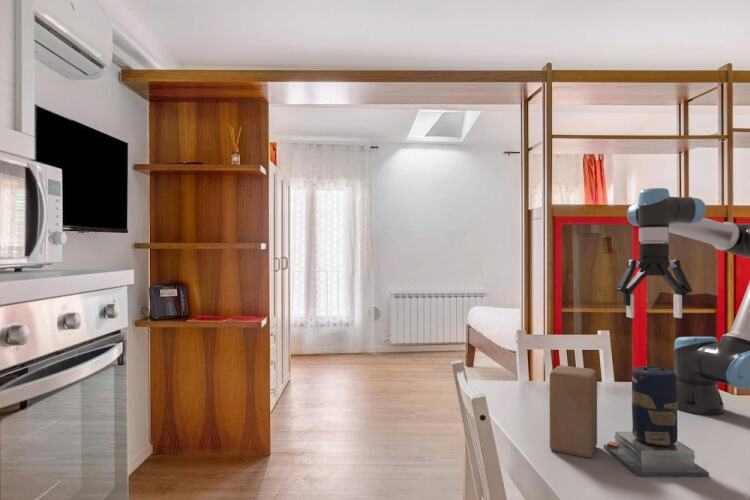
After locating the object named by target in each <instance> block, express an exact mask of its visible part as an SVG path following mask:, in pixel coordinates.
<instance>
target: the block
mask: <svg viewBox="0 0 750 500" xmlns="http://www.w3.org/2000/svg"><path fill="white" fill-rule="evenodd" d="M597 445H598V373H597V370H595V369H594V368H587V367H579V366H578V367H577V366H570V365H568V366H567V365H558V366H556V367H555V368H553V369H552V370H551V371H550V373H549V448H550V450H551V451H554V452H558V453H563V454H567V455H568V454H569V455H572V456H576V457H577V456H578V457H583V458H587V459H588V458H592V456H593V454H594V451H595V450H596V447H597Z"/></svg>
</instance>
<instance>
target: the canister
mask: <svg viewBox="0 0 750 500" xmlns="http://www.w3.org/2000/svg"><path fill="white" fill-rule="evenodd" d="M677 408H678V402H677V376H676V374H675V372H674V371H673V370H670V369H668V368H666V367H664V366H661V365H657V364H656V365H655V364H654V365H653V364H652V365H648V366H647V365H645V366H644V365H643V366H636V367H634V368H633V369H632V370H631V411H632V412H631V413H632V415H631V419H632V420H631V422H632V423H631V424H632V426H631V427H632V429H631V432H633V435H634V436H635V437H636V438H637V439H639V440H641V441H644V442H647V443H650V444H655V445H671V444H674V443H675V442H676V441H678V409H677Z"/></svg>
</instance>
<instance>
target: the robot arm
mask: <svg viewBox="0 0 750 500" xmlns="http://www.w3.org/2000/svg"><path fill="white" fill-rule="evenodd" d="M706 206H707V205H706V203H705V202H704V201H703V200H702V199H700V198H698V197H692V196H686V197H685V196H671V195H670V191H669V189H668V188H665V187H655V188H654V187H653V188H645V189H642V190H641V191H639V195H638V203H637V202H636V203H633V204H632V205H630V206H629V208H628V209H627V213H626V217H627V220H628V223H630V224H631V226H635V227H638V242H640V243H639V245H638V257H639V260H636V259H628V260H627V266H626V269H625V270H624V273H623V275H622V276H621V279H620V281H619V283H618V285H617V287H616V292H617V293H618V292H619V293H621V294H622V295H623V306H626V309H625V310H626V313H625V314H626V318H630V319H634V318H635V295H634V294H632V293H633V292H634V291H635V289H636V288H637V287H638V286H639V284H641V283H642V281H643V280H644V279H645V278H646V277H647V276H657V277H658V276H660V277H662V278H663V280H664V281H666V282H667V284H668V285H669V286H670V287H671V289H673V291H674V294H673V299H672V300H673V301H672V302H673V307H672V308H673V318H677V319H682V318H683V307H684V306H685V300H686V299H685V297H686V295H688V294H689V293H692V292H693V289H692V287H691V285H690V284H689V281H688V279H687V277H686V275H685V273H684V272H683V271H684V270H682V266H681V260H679V259H672V260H670V259H669V256H670V244H669V243H668V242H670V234H675V235H677V236H678V235H679V236H682V237H684V238H688V239H692V240H696V241H699V242H701V243H706V244H709V245H712V246H713V247H714V248H715V249H716V250H717V251H718V250H719V251H721V252H726V253H730V254H733V255H736V256H739V257H743V258H748V259H750V223H734V222H731V221H724V222H720V221H717V220H714V219H710V218H707V217H705V216H706V213H707V212H706V211H707V207H706ZM638 267H639V268H640V269H639V270H638V271H637V272H636V275H634V273H635V271H636V268H638ZM669 267H670V268H671V271H672V272H671V271H670V270H669V269H668V268H669ZM672 273H673V275H674V276H673V275H672ZM633 275H634V277H633ZM674 277H675V278H674ZM740 303H741V304H740V305H739V308H738V310H737V314H736V316H735V318H734V321H733V324H732V327H731V328H730V332H727V333H725V334H722V336H721V338H720V341H718V339H717V338H716V337H714V336H679V337H677V338H676V339H675V340H674V346H673V347H674V348H673V360H674V361H673V362H674V367H673V369H674V371H673V372H674V373H675V374H676V376H677V402H678V408H677V411H682V412H686V413H691V414H698V415H707V416H708V415H711V416H712V415H714V416H715V415H721V414H723V413H724V412H725V405H724V402H723V399H722V396H721V394H720V391H719V388H718V383H721V384H725V385H728V386H732V387H734V388H738V389H744V390H750V281H749V282H748V284H747V288H746V290H745V293H744V295H743V299H742V301H741V302H740ZM718 342H719V343H718Z"/></svg>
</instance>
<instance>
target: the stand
mask: <svg viewBox="0 0 750 500" xmlns="http://www.w3.org/2000/svg"><path fill="white" fill-rule="evenodd" d="M614 440H615V441H609V442H608V443H606V444H603V449H604V450H605V451H606V452H607V453H608V454H610V455H611V457H613V458H614V459H616V460H617V461H618V462H619V463H620V464H622V465H623V466H624V467H626V469H627V470H629V471H630V472H631V473H632V474H634V475H635V476H636V478H637V477H643V478H644V477H645V478H646V477H650V478H652V477H653V478H654V477H656V478H657V477H661V478H665V477H666V478H668V477H669V478H670V477H673V478H675V477H679V478H681V477H682V478H683V477H685V478H687V477H688V478H689V477H690V478H694V477H695V478H696V477H698V478H702V477H703V478H705V477H706V478H708V477H710V472H709V471H708V470H706V469H704V468H703V467H702V466H700V465H698V464H697V463H696V462H695V459H696V456H695V450H694V449H692V448H691V447H689V446H687V445H686V444H683V442H681V441H679V440H677V441H676V442H675V443H674V444H671V445H655V444H650V443H647V442H644V441H641V440H639V439H637V438H636V437H635V436H634V435H633V432H632V431H615V433H614Z"/></svg>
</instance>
